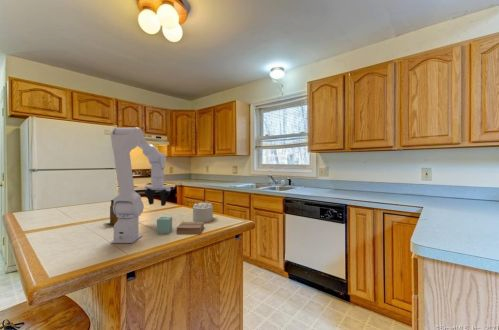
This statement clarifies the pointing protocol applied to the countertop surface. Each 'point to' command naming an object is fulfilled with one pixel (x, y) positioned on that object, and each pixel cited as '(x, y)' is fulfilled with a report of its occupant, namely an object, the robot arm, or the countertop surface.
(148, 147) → the robot arm
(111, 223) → the condiment
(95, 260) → the countertop surface
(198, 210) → the lumpy-topped squat cylinder
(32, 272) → the countertop surface
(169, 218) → the teal block
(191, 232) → the walnut base
